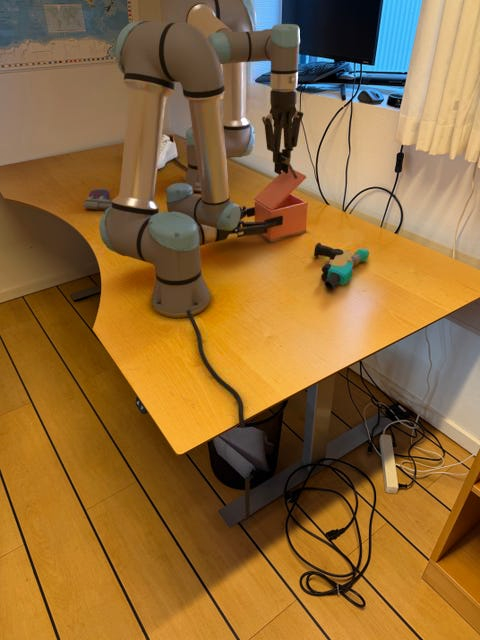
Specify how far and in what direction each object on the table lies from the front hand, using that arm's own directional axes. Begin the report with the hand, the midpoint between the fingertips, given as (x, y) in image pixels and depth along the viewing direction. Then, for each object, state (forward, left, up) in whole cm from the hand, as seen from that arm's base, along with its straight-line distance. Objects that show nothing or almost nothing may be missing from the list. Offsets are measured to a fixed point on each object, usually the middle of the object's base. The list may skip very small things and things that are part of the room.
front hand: (272, 214), depth 154 cm
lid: (+1, -2, +8) cm, 8 cm away
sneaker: (+70, +54, -7) cm, 88 cm away
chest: (+2, -3, -7) cm, 8 cm away
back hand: (+1, -2, +13) cm, 14 cm away
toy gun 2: (-24, -18, -7) cm, 31 cm away
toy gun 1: (+21, +61, -7) cm, 65 cm away
